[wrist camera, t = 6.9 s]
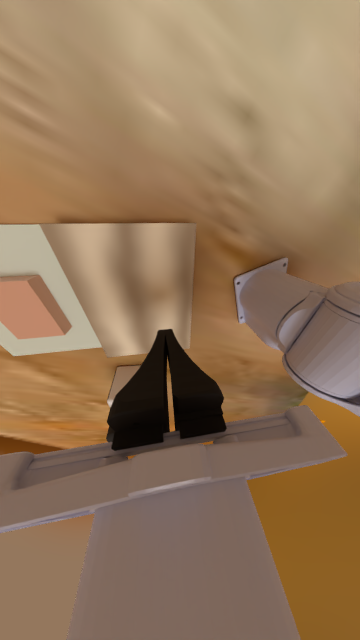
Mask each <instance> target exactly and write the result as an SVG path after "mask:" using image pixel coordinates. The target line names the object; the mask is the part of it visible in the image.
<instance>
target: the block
mask: <svg viewBox="0 0 360 640" xmlns="http://www.w3.org/2000/svg"><path fill="white" fill-rule="evenodd" d="M0 322H1V323H2V324H3V325H4V326H5V327H6V328H7V329H8V330H9V331H10V332H11V333H12V334H13V335H14V336H15V337H16V338H17V339H18V340H19V339H30V338H40V337H51V336H62V335H66V333H67V332H68V331H69V330H70V329H71V328H72V325H71V324H70V322H69V321H68V319H67V317H66V316H65V314H64V313H63V311H62V310H61V308H60V306H59V305H58V303H57V302H56V300H55V298H54V297H53V295H52V294H51V292H50V290H49V289H48V287H47V286H46V284H45V282H44V281H43V279H42V278H41V276H40V275H32V276H10V277H0Z"/></svg>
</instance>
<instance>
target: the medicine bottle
mask: <svg viewBox="0 0 360 640" xmlns="http://www.w3.org/2000/svg"><path fill="white" fill-rule="evenodd" d="M140 366H141V365H136V366H121V367H117V369H116V372H115V375H114V379H113V382H112V386H111V389H110V393H109V396H108V399H107V403H108V405H109V406H110V408H111V405H112V403H113V400H114V398H115V396H116V394H117V393H118V392H119V391H120V390H121V389H122V388H123V387H124V386H125V385H126V384H127V383H128V381H129V380H130V379H131V378H132V377H133V375H134V374H135V373H136V372H137V370H138V369H139V368H140ZM114 432H115V431H114V430H113V429H112V428H111V427H110V426H109V429H108V434H107V438H106V439H107V441H108V442H113V437H114Z"/></svg>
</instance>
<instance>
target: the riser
mask: <svg viewBox="0 0 360 640" xmlns="http://www.w3.org/2000/svg"><path fill="white" fill-rule="evenodd" d="M39 225H40V227H41V229H42V231H43V233H44V235H45V237H46V239H47V240H48V242H49V244H50V246H51V248H52V250H53V252H54V254H55V256H56V258H57V260H58V262H59V264H60V266H61V268H62V270H63V272H64V274H65V276H66V278H67V279H68V281H69V283H70V285H71V287H72V289H73V291H74V293H75V295H76V297H77V299H78V301H79V303H80V305H81V307H82V309H83V311H84V313H85V315H86V316H87V318H88V320H89V322H90V324H91V326H92V328H93V330H94V332H95V334H96V336H97V338H98V340H99V342H100V344H101V346H102V348H103V350H104V352H105V354H106V355H107V357H116V356H125V355H134V354H143V353H149V352H150V350H151V348H152V346H153V343H154V341H155V338H156V335H157V332H158V330H163V329H172V330H173V332H174V335H175V337H176V339H177V341H178V342H179V344H180V345H181V347H182V348H183V349H188V348H190V333H191V314H192V295H193V276H194V257H195V238H196V223H104V224H39Z"/></svg>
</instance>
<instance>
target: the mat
mask: <svg viewBox="0 0 360 640" xmlns="http://www.w3.org/2000/svg"><path fill="white" fill-rule="evenodd" d="M32 275H40V276H41V278H42V279H43V281H44V282H45V284H46V286H47V287H48V289H49V290H50V292H51V294H52V295H53V297H54V298H55V300H56V302H57V303H58V305H59V306H60V308H61V310H62V311H63V313H64V314H65V316H66V317H67V319H68V321H69V322H70V324H71V325H72V328H71V329H70V330H69V331H68V332H67V333H66V335H62V336H51V337H40V338H30V339H19V340H18V339H17V338H16V337H15V336H14V335H13V334H12V333H11V332H10V331H9V330H8V329H7V328H6V327H5V326H4V325H3V324H2V323H1V322H0V345H1V346H2V347H4V348H5V349H6V350H7V351H8V352H9V353H10V354H12V355H13V356H20V355H30V354H39V353H49V352H59V351H69V350H78V349H88V348H98V347H102V346H101V344H100V342H99V340H98V338H97V336H96V334H95V332H94V330H93V328H92V326H91V324H90V322H89V320H88V318H87V316H86V315H85V313H84V311H83V309H82V307H81V305H80V303H79V301H78V299H77V297H76V295H75V293H74V291H73V289H72V287H71V285H70V283H69V281H68V279H67V278H66V276H65V274H64V272H63V270H62V268H61V266H60V264H59V262H58V260H57V258H56V256H55V254H54V252H53V250H52V248H51V246H50V244H49V242H48V240H47V239H46V237H45V235H44V233H43V231H42V229H41V227H40V225H39V224H31V225H0V277H10V276H32Z"/></svg>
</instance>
